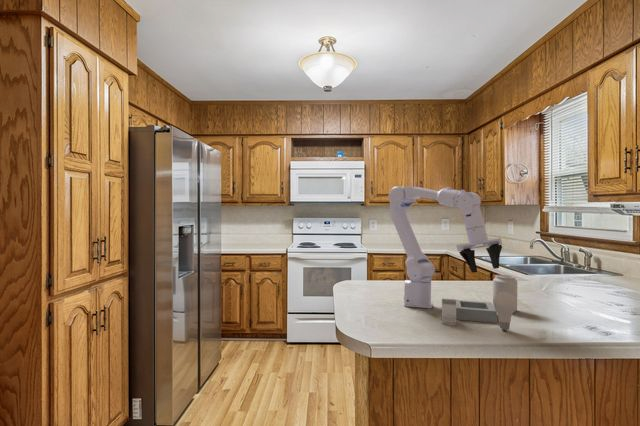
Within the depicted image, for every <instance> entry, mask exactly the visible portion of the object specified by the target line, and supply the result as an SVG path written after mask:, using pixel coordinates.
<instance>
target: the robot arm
mask: <svg viewBox="0 0 640 426" xmlns="http://www.w3.org/2000/svg"><path fill="white" fill-rule="evenodd" d="M420 198H422V199H423V198H424V199H429V200H435V201H437V202H438V204H439V205H442V206H447V207H452V208H459V209H460V210H461V214H462V218H463V219H462V220H463V223H464V227H465V231H466V236H467V240H468V242H467V243H463V244H457V245H456V250H457V252H459V255H460V257H462V258H463V259H464V261H465V262H466V264H467V266H468V268H469V269H470V271H471V273H472V274H473V273H477V272H478V269H477V268H478V267H477V264H476V257H475V256H476V255H475V254H476V253H475V250H474V249H479V248H480V249H481V248H485V249H486V251H487V253H488V256H489V259H490V263H491V267H492V269H494V270H495V269H500V257H501V252H502V249H503V242H502V239H501V237H498V238H493V239H492V238H491V239H488V238H489V237H488V235H487V231H486V225H485V221H484V217H483V213H482V210H481V207H480V206H481V203H482V198H481V196H480V195H479V194H478V193H476V192H473V191H471V192H470V191H466V190H465V189H460V190H457V189H453V188H452V187H450V186H447V187H443V188H442V189H440V190H434V189H430V188H424V187H420V186H398V185H397V186H396V185H395V186H393V187H392V188H391V189H390V191H389V193H388V196H387V199H388V201H389V215H390V218H391V220H392V222H393V225H394V227H395V230H396V232H397V235H398V238H399V239H400V243H401V244H402V247H403V249H404V250H403V251H405V254H406V261H404V262H405V266H406V275H407V277H408V278H409V279H405V280H404V290H403V291H404V295H403V301H404V302H403V306H404V307H411V308H412V307H413V308H421V309H422V308H423V309H432V308H433V302H432V277H433V276H435V272H436V268H435V265H434V264H433V263H432V262H431V261H430V259H429V257H428V256H427V255H426V254H425V253H424V252H423V251H422V249H421V247H420V244H419V242H418V240H417V237H416V236H415V232H414V230H413V227H412V225H411V223H410V221H409V219H408V216H407V212H408V210H409V209H410V208H411V206H413V204H414V203H415V201H416V200H419V199H420Z"/></svg>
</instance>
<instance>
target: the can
mask: <svg viewBox="0 0 640 426" xmlns="http://www.w3.org/2000/svg"><path fill="white" fill-rule="evenodd" d="M494 276H495V277H494V278H493V280H492V300H493V299H494V297H495V295H496V294H498V293H500V292H508V293H510V294H512V295H513V296H514V297H515V298H516V301H517V302H518V281H517V279H516V276H514V275H510V274H509V275H508V274H495V275H494ZM492 304H493V303H492ZM493 306H494V304H493ZM494 308H495V307H494ZM517 310H518V306H517V307H516V309H515V311H514V312H513V313H515V312H516V311H517Z"/></svg>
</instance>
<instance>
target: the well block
mask: <svg viewBox="0 0 640 426" xmlns="http://www.w3.org/2000/svg"><path fill="white" fill-rule="evenodd" d="M453 300H456V320H460V321H462V320H463V321H472V322H482V323H493V324H494V323H495V324H497V322H498V320H497V319H498V313H497V311H496V309H495V308H494V306H493V302H491V301H490V302H489V301H481V300H480V301H479V300H477V301H476V300H465V299H454V298H453Z"/></svg>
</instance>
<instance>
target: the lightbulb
mask: <svg viewBox="0 0 640 426" xmlns="http://www.w3.org/2000/svg"><path fill="white" fill-rule="evenodd" d="M492 304H494V307H495V309H496V311H497V319H498V321H499V328H500V329H501V330H502V331H504V330H505V332H506V331H507V330H510V325H511V321H512V317H513V313H515V312H516V311H515V309H516V307H517V308H518V300H517V301H516V298H515V297H514V296H513V295H512V294H510V293H508V292H500V293H498V294H496V295H495V297H494V299H493V298H492ZM514 311H515V312H514Z"/></svg>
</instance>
